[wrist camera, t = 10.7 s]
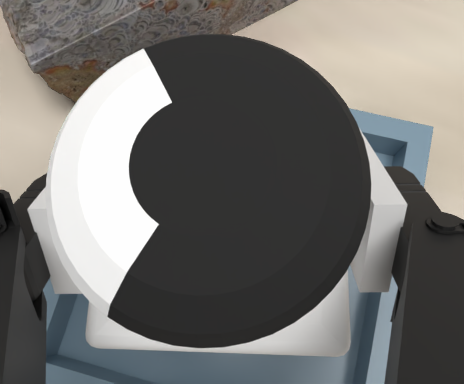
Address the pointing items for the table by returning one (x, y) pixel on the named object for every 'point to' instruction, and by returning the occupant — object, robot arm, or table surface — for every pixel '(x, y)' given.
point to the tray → (236, 364)
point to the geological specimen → (114, 31)
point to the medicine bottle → (211, 201)
